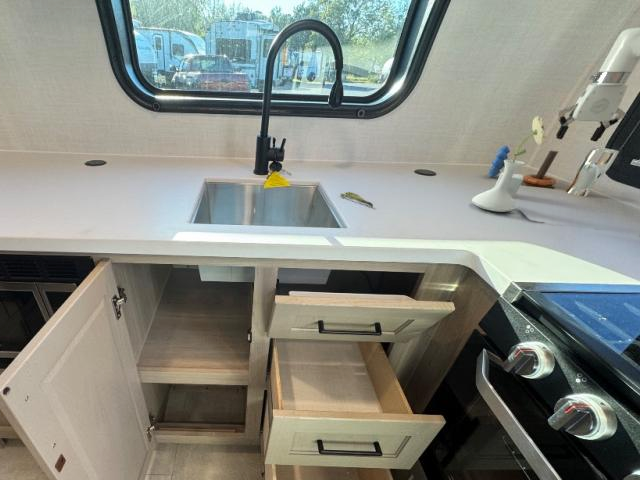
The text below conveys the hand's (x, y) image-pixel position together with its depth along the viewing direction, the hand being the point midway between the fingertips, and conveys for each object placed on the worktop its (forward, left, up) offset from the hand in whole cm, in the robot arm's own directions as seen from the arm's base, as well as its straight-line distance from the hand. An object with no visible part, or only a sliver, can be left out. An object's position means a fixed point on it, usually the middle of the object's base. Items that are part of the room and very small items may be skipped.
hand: (575, 139), depth 109 cm
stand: (+4, 0, -16) cm, 17 cm away
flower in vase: (+26, +36, -16) cm, 47 cm away
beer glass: (-5, +9, -16) cm, 19 cm away
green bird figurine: (+66, +47, -16) cm, 83 cm away
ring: (+4, 0, -14) cm, 14 cm away
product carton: (+20, +22, -16) cm, 34 cm away
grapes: (+16, -6, -16) cm, 24 cm away
